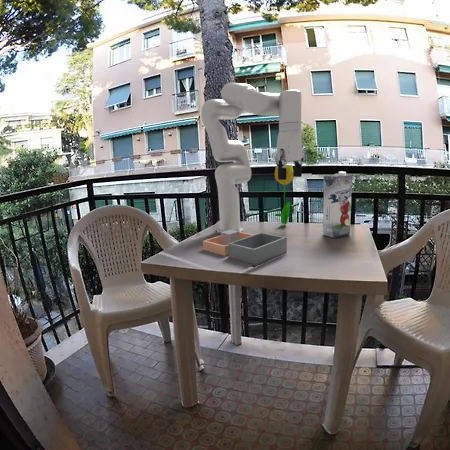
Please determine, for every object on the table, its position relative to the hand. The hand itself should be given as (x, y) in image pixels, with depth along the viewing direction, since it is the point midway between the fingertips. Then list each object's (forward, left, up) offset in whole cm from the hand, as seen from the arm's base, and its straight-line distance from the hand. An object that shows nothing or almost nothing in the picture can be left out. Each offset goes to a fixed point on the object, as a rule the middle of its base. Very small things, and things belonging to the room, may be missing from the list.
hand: (290, 178), depth 115 cm
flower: (-23, +29, -27) cm, 46 cm away
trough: (-18, -14, -27) cm, 35 cm away
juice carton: (+5, +27, -27) cm, 39 cm away
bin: (-4, -14, -27) cm, 30 cm away
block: (-18, -14, -26) cm, 35 cm away
